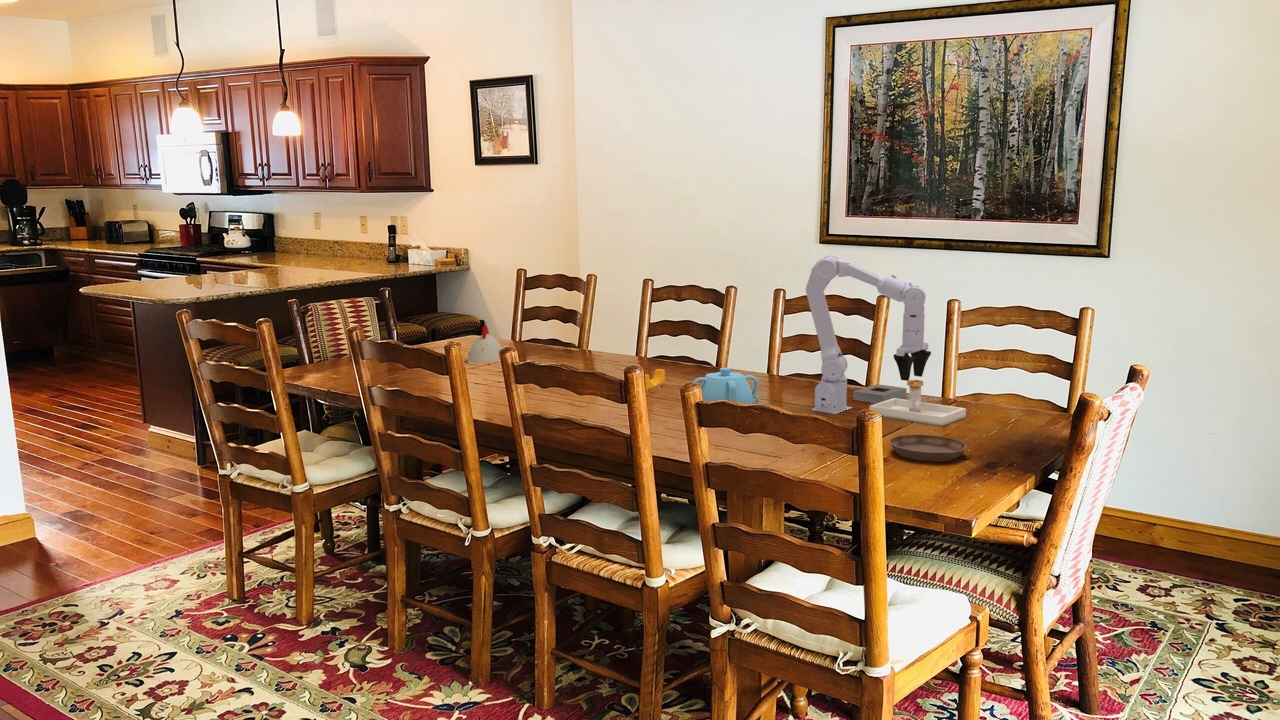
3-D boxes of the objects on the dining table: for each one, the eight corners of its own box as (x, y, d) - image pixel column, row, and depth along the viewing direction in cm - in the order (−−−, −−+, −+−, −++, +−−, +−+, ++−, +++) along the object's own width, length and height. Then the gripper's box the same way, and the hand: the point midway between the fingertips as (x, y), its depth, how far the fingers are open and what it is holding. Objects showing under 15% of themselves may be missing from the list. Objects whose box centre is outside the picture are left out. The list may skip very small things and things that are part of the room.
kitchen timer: (464, 369, 362) (462, 328, 360) (472, 362, 376) (470, 323, 373) (502, 369, 361) (500, 328, 359) (508, 362, 375) (507, 323, 372)
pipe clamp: (653, 388, 324) (653, 368, 323) (664, 389, 322) (664, 369, 321) (634, 394, 314) (634, 374, 313) (646, 396, 312) (646, 375, 310)
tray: (942, 426, 266) (942, 417, 266) (869, 414, 281) (869, 405, 281) (965, 417, 276) (965, 408, 276) (893, 406, 291) (894, 398, 291)
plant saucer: (936, 442, 250) (936, 431, 250) (981, 460, 234) (982, 447, 233) (875, 449, 245) (875, 437, 244) (916, 467, 228) (917, 455, 228)
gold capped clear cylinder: (917, 415, 277) (918, 383, 275) (903, 413, 280) (904, 381, 278) (925, 412, 280) (926, 381, 278) (912, 410, 283) (912, 379, 281)
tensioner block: (882, 405, 292) (883, 395, 292) (853, 401, 299) (853, 391, 299) (906, 397, 303) (906, 388, 302) (876, 393, 309) (877, 384, 309)
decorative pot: (729, 424, 272) (730, 375, 270) (684, 416, 283) (684, 368, 280) (765, 414, 284) (765, 367, 281) (720, 406, 294) (721, 361, 292)
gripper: (913, 334, 269) (911, 383, 271) (939, 328, 279) (937, 376, 282) (890, 332, 274) (888, 380, 276) (916, 326, 284) (914, 373, 287)
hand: (911, 378), depth 279 cm, fingers open, 7 cm apart
